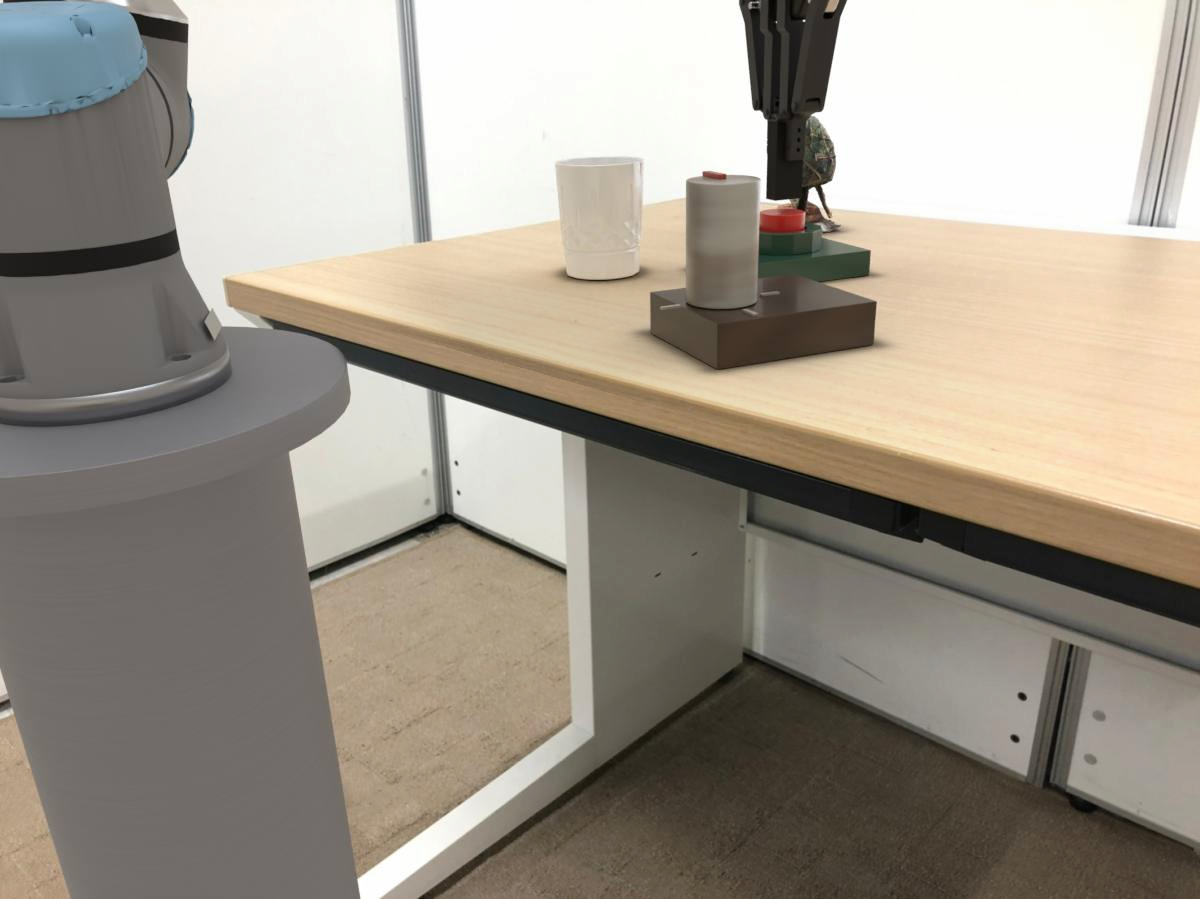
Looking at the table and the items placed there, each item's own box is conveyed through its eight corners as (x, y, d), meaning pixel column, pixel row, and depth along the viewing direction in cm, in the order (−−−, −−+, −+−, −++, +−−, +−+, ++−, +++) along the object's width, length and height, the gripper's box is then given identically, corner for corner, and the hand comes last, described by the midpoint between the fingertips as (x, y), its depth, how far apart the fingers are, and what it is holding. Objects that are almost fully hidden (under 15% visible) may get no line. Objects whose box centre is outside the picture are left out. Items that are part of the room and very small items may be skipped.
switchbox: (750, 290, 82) (751, 242, 81) (694, 269, 91) (695, 225, 90) (869, 275, 87) (872, 229, 85) (805, 256, 95) (807, 214, 94)
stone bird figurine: (778, 240, 104) (786, 33, 96) (753, 223, 114) (758, 35, 106) (854, 236, 104) (867, 31, 97) (821, 219, 115) (831, 33, 107)
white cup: (628, 261, 95) (626, 154, 92) (657, 276, 88) (656, 161, 85) (550, 268, 93) (544, 159, 90) (573, 285, 86) (568, 167, 83)
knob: (770, 303, 65) (775, 175, 62) (706, 312, 64) (708, 180, 61) (734, 289, 70) (737, 168, 66) (673, 297, 68) (673, 173, 65)
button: (774, 237, 85) (774, 216, 84) (750, 230, 88) (750, 210, 88) (813, 233, 86) (814, 212, 86) (788, 226, 90) (789, 207, 89)
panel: (696, 373, 62) (696, 324, 61) (631, 335, 71) (630, 292, 69) (873, 344, 67) (877, 298, 65) (792, 312, 75) (794, 271, 74)
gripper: (886, -121, 73) (864, 203, 82) (790, -96, 84) (780, 187, 93) (799, -123, 71) (787, 211, 79) (712, -97, 82) (710, 193, 91)
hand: (783, 198), depth 86 cm, fingers closed
